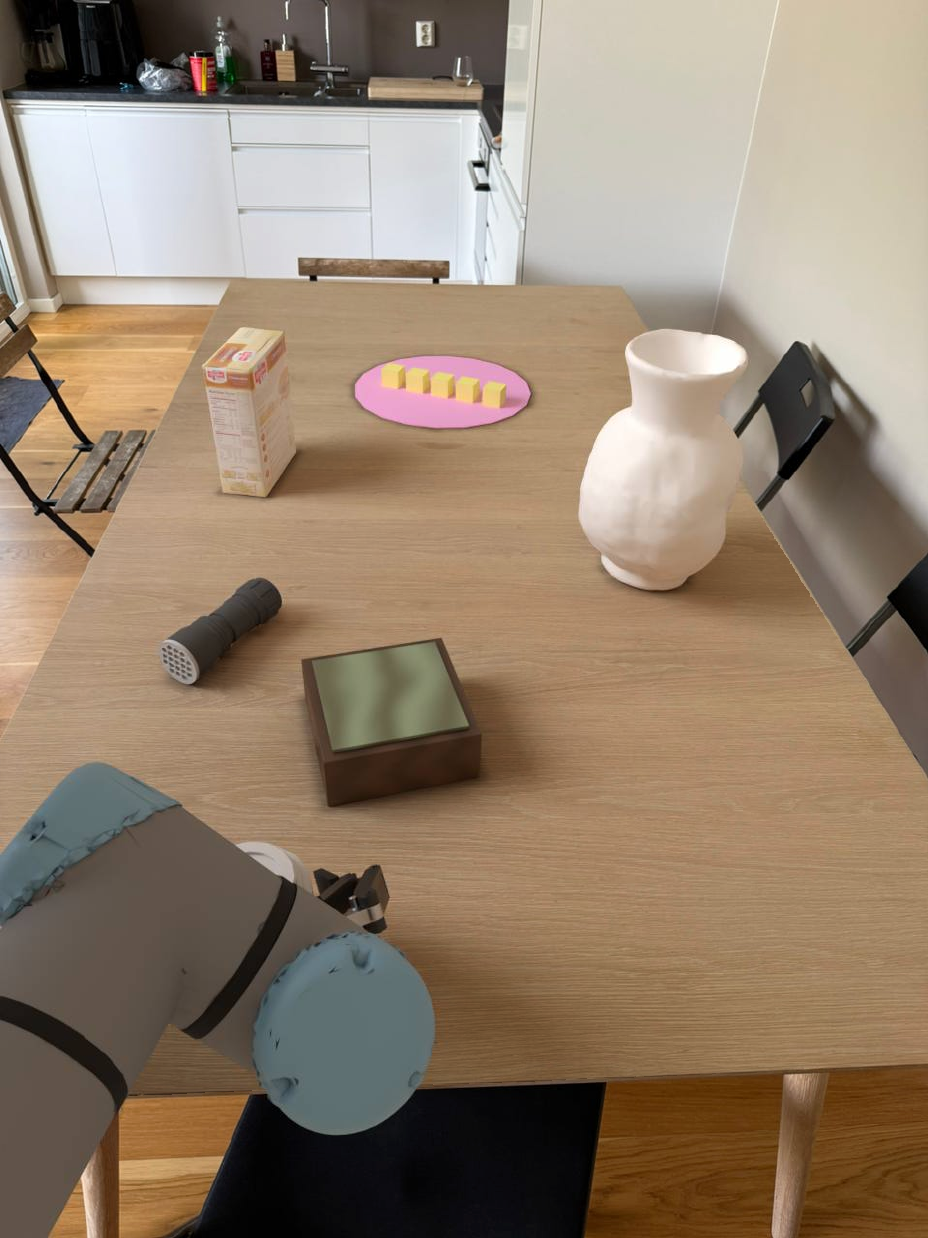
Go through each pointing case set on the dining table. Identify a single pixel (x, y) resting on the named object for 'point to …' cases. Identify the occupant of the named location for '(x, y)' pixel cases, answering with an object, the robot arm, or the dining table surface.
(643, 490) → the vase
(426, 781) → the stand
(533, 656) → the dining table surface
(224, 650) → the flashlight
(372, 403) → the platter
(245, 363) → the coffeecake box
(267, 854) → the coffee cup
